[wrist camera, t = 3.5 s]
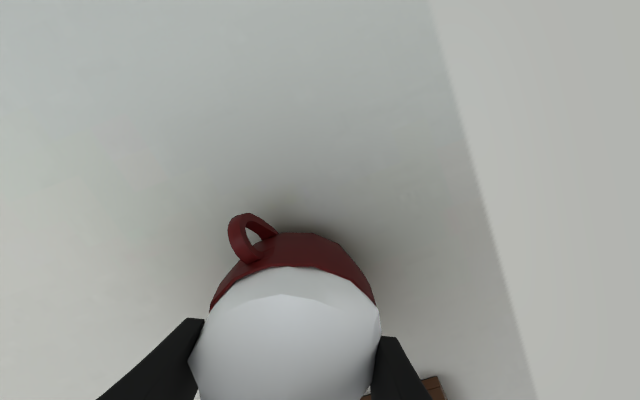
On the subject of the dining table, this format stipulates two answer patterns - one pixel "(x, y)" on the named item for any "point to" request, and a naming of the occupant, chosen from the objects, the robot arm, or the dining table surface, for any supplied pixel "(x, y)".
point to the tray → (431, 386)
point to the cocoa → (287, 321)
